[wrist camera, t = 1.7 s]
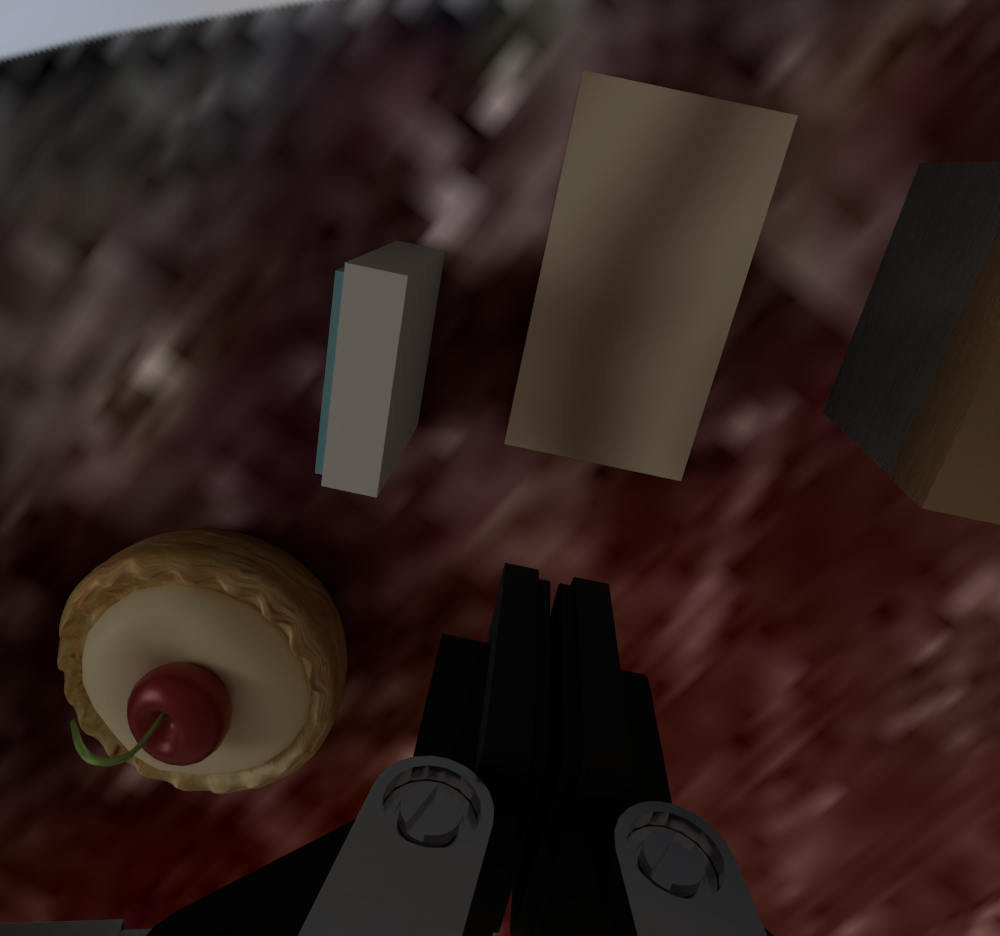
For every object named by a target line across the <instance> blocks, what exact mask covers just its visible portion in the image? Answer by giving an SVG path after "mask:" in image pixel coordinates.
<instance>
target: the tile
mask: <svg viewBox="0 0 1000 936" xmlns="http://www.w3.org/2000/svg"><path fill="white" fill-rule="evenodd" d="M444 255H445V251H444V250H439V249H435V248H430V247H425V246H420V245H416V244H411V243H406V242H401V241H395V242H393V243H391V244H388V245H386V246H384V247H381V248H379V249H376V250H374V251H372V252H369V253H367V254H364V255H362V256H360V257H357V258H355V259H353V260H350V261H348V262H345V266H344V267H342V268H340V269H337V270H336V271H335V281H334V291H333V301H332V310H331V320H330V330H329V340H328V350H327V359H326V369H325V379H324V389H323V398H322V408H321V418H320V428H319V438H318V447H317V457H316V467H315V473H318V474H322V484H321V486H325V487H329V488H334V489H339V490H344V491H348V492H353V493H358V494H363V495H367V496H372V497H377V496H378V494H379V493H380V491H381V489H382V487H383V486H384V484H385V482H386V480H387V479H388V477H389V475H390V473H391V472H392V470H393V468H394V466H395V465H396V463H397V461H398V459H399V458H400V456H401V454H402V452H403V451H404V449H405V447H406V445H407V444H408V442H409V440H410V438H411V437H412V435H413V433H414V431H415V430H416V428H417V426H418V419H419V413H420V407H421V401H422V394H423V388H424V382H425V375H426V369H427V363H428V356H429V350H430V344H431V337H432V331H433V325H434V318H435V312H436V306H437V299H438V293H439V287H440V281H441V274H442V268H443V262H444Z"/></svg>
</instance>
